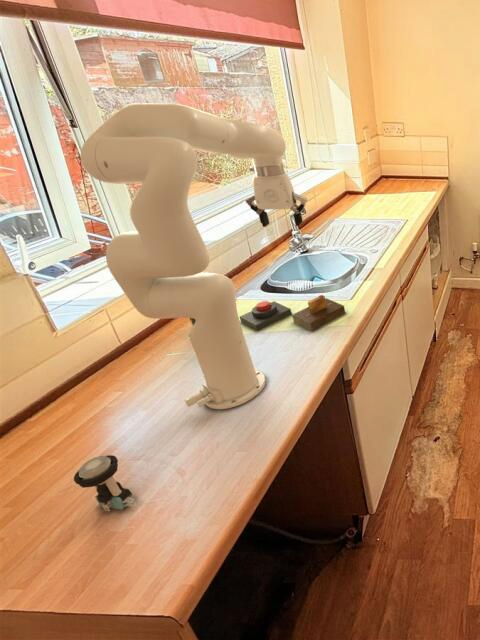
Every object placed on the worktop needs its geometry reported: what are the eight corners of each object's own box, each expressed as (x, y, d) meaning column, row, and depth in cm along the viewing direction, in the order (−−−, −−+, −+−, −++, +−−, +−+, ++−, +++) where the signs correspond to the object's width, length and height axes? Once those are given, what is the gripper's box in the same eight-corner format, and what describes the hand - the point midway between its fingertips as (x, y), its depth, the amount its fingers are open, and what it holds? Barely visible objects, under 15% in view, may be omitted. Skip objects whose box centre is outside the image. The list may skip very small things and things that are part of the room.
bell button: (261, 313, 123) (260, 308, 122) (255, 309, 124) (253, 304, 124) (273, 307, 125) (271, 303, 125) (266, 304, 127) (265, 299, 126)
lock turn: (312, 314, 123) (310, 302, 122) (310, 312, 124) (307, 301, 122) (326, 307, 127) (324, 295, 126) (324, 305, 128) (321, 294, 126)
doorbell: (257, 331, 120) (254, 320, 118) (241, 322, 124) (237, 311, 122) (291, 314, 129) (289, 303, 127) (275, 306, 133) (272, 296, 131)
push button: (150, 492, 73) (129, 454, 69) (120, 521, 69) (96, 482, 65) (119, 487, 74) (97, 449, 70) (87, 515, 69) (61, 476, 65)
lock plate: (312, 331, 120) (310, 323, 119) (294, 322, 124) (291, 314, 123) (345, 313, 130) (343, 305, 128) (327, 305, 134) (326, 297, 132)
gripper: (231, 173, 113) (247, 230, 120) (295, 173, 115) (307, 228, 122) (244, 168, 120) (258, 221, 127) (304, 167, 122) (315, 220, 129)
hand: (282, 225), depth 125 cm, fingers open, 9 cm apart
